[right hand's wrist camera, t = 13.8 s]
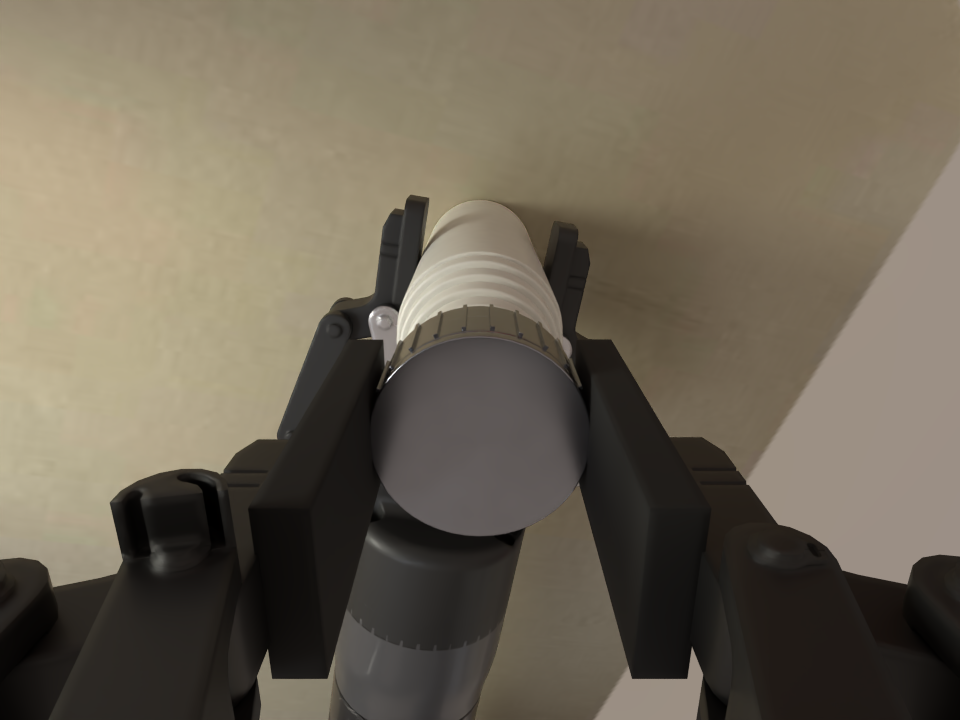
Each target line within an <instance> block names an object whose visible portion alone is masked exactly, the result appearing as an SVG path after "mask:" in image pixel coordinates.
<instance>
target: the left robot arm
mask: <svg viewBox="0 0 960 720" xmlns="http://www.w3.org/2000/svg"><path fill="white" fill-rule="evenodd" d="M428 207H429V198H427V197H421V196H415V195H410V196H409V197H408V198H407V200H406V204H405V210H401V209H396V208H395V209H394V210H393V211H392V212H391V213H390V215H389V217H388V219H387V221H386V222H385V224H384V226H383V231H382V239H381V247H380V256H379V264H378V272H377V280H376V289H375V293H374V294H372V295H371V296H369V297H365V298H359V299H352V298H347V297H346V298H341V299H338V300H337V301H336V302H335V303H334V304H333V306H332V307H331V309H330V311H329V313H327V314H326V315H325V316H324V317H323V318H322V319H321V321H320V322H319V325H318V327H317V330H316V332H315V335H314V338H313V340H312V343H311V346H310V348H309V351H308V353H307V356H306V359H305V361H304V364H303V366H302V369H301V372H300V374H299V377H298V380H297V382H296V385H295V387H294V390H293V393H292V395H291V398H290V400H289V403H288V406H287V408H286V411H285V414H284V416H283V419H282V421H281V424H280V427H279V429H278V432H277V439H278V440H289V439H290V437H291V435H292V434H293V432H294V430H295V429H296V427H297V425H298V424H299V422H300V420H301V419H302V417H303V415H304V413H305V412H306V410H307V408H308V407H309V405H310V403H311V402H312V400H313V398H314V397H315V395H316V393H317V392H318V390H319V388H320V387H321V385H322V383H323V382H324V380H325V378H326V377H327V375H328V373H329V372H330V370H331V368H332V367H333V365H334V363H335V362H336V360H337V358H338V356H339V355H340V353H341V351H342V350H343V348H344V346H345V345H346V343H347V341H348V340H356V339H362V338H368V337H372V340H383V342H384V361H385V365H386V362H387V360H388V361H390V360H391V358H392V356H393V354H394V352H395V350H396V347H397V321H398V316H399V311H400V307H401V305H402V302H403V299H404V297H405V294H406V292H407V290H408V287H409V285H410V283H411V280H412V278H413V276H414V273H415V271H416V269H417V266H418V264H419V262H420V259H421V255H422V248H423V241H424V234H425V228H426V221H427V214H428ZM589 267H590V259H589V253H588V248H587V247H586V246H585V245H584V244H583V243H582V242H579V241H578V229H577V228H576V227H575V226H574V225H573V224H569V223H563V222H558V221H554V223H553V226H552V230H551V235H550V239H549V244H548V249H547V253H546V258H545V263H544V268H543V270H544V272H545V275H546V277H547V279H548V282H549V284H550V286H551V289H552V291H553V294H554V296H555V298H556V301H557V303H558V305H559V309H560V313H561V318H562V332H563V346H562V348H563V350H564V352H565V353H566V355H567V357H568V359H570V358H572V360H573V363H574V366H575V353H576V340H592V339H587V338H585V337H584V336H582V335H580V334H579V333H577V332H576V331H575V326H576V321H577V317H578V313H579V309H580V304H581V300H582V296H583V292H584V288H585V283H586V278H587V275H588V271H589ZM577 486H580V485H579V483H578V484H577ZM525 528H526V527H525ZM525 528H523V529H520V530H517V531H514V532H510V533H506V534H500V535H494V536H465V535H459V534H454V533H449V532H446V531H443V530H439V529H437V528H434V527H432V526H430V525H427V524H425V523H423V522H422V521H420V520H418V519H416V518H415V517H413V516H412V515H410V514H409V513H408V512H406V511H405V510H404V509H403V508H402V507H401V506H399V505H398V504H397V503H396V502H395V501H394V500H393V498H392V497H391V496H390V495H389V493H388V492H387V491H386V490H385V488H384V486H383V485H382V483H381V484H380V487H379V491H378V495H377V498H376V502H375V506H374V509H373V513H372V517H371V520H370V524H369V528H368V531H367V535H366V539H365V543H364V546H363V550H362V554H361V557H360V561H359V565H358V568H357V572H356V576H355V579H354V583H353V587H352V590H351V594H350V598H349V601H348V605H347V609H346V612H345V616H344V620H343V623H342V627H341V631H340V634H339V638H338V642H337V645H336V649H335V657H336V664H335V671H334V679H333V687H332V695H331V703H330V712H329V719H328V720H475V716H476V712H477V707H478V703H479V699H480V694H481V690H482V687H483V684H484V682H485V679H486V677H487V675H488V673H489V670H490V668H491V665H492V663H493V660H494V657H495V654H496V650H497V647H498V642H499V638H500V634H501V630H502V625H503V621H504V617H505V613H506V608H507V604H508V600H509V596H510V591H511V587H512V583H513V578H514V574H515V570H516V566H517V561H518V557H519V553H520V549H521V544H522V540H523V536H524V532H525Z"/></svg>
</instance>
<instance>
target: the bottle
mask: <svg viewBox="0 0 960 720" xmlns="http://www.w3.org/2000/svg"><path fill="white" fill-rule="evenodd" d="M466 304H467V307H469V306H489V305H490V304H493V305H494V307H498V308H502V309H507V310H510V311H513V312H515V310H518V311H519V314H521V315H523V316H525V317H527V318H529V319H531V320H533V321H535V322H536V323H537V322H538V321H539V322H541V323H542V326H543V328H544V329H545V330H547V331H548V332H549V333H550V334H551V335H552V336H553V337H554V338H555V339H556V338H558V339H559V340H560V342H561V345H562V346H563V332H562V318H561V313H560V309H559V305H558V303H557V301H556V298H555V296H554V294H553V291H552V289H551V286H550V284H549V282H548V279H547V277H546V275H545V272H544V270H543V268H542V265H541V263H540V261H539V258H538V256H537V254H536V251H535V249H534V247H533V244H532V242H531V240H530V237H529V235H528V232H527V230H526V228H525V226H524V224H523V223H522V221H521V220H520V219H519V218H518V216H517V215H516V214H515V213H514V212H512V211H511V210H510V209H508V208H507V207H505V206H503V205H501V204H499V203H496V202H492V201H488V200H472V201H467V202H464V203H461V204H459V205H456V206H454V207H453V208H451V209H450V210H448V211H447V212H446V213H445V214H444V215H443V216H442V217H441V218H440V219H439V221H438V222H437V224H436V225H435V227H434V229H433V231H432V233H431V236H430V238H429V240H428V243H427V245H426V247H425V250H424V252H423V254H422V257H421V259H420V262H419V264H418V266H417V269H416V271H415V273H414V276H413V278H412V280H411V283H410V285H409V287H408V290H407V292H406V294H405V297H404V299H403V302H402V305H401V307H400V311H399V316H398V321H397V344H398V342H399V341H400V340H401V341H403V340H404V339H405V338H406V337H407V336H408V335H409V334H410V333H411V332H412V331H413V330H414V329H415V326H416V324H418V323H419V324H420V325H421V324H422V323H424V322H425V321H427V320H428V319H430V318H432V317H434V316H436V315H437V314H438V312H439V311H442V313H443V312H446V311H450V310H453V309H457V308H463V305H466Z"/></svg>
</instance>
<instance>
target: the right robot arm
mask: <svg viewBox="0 0 960 720" xmlns="http://www.w3.org/2000/svg"><path fill="white" fill-rule="evenodd" d="M384 367H385V361H384V342H383V340H348V341H347V343H346V345H345V346H344V348H343V350H342V351H341V353H340V355H339V356H338V358H337V360H336V362H335V363H334V365H333V367H332V368H331V370H330V372H329V373H328V375H327V377H326V378H325V380H324V382H323V383H322V385H321V387H320V388H319V390H318V392H317V393H316V395H315V397H314V398H313V400H312V402H311V403H310V405H309V407H308V408H307V410H306V412H305V413H304V415H303V417H302V419H301V420H300V422H299V424H298V425H297V427H296V429H295V430H294V432H293V434H292V435H291V437H290V439H289V440H256V441H255V442H253V443H252V444H250V445H249V446H247V447H245V448H244V449H242V450H241V451H239V452H238V453H236V454H235V455H234V457H233V458H232V460H231V461H230V462H229V464H228V465H227V466H226V468H225V469H224V473H221V475H220V474H218V473H217V472H212V471H208V470H204V469H179V470H174V471H168V472H163V473H158V474H156V475H153V476H150V477H147V478H144V479H142V480H139V481H137V482H135V483H133V484H132V485H130V486H128V487H127V488H125V489H123V490H122V491H120V492H119V493H118V494H117V495H116V497H115V498H114V499H113V500H112V501H111V502H110V506H111V510H112V514H113V519H114V523H115V527H116V532H117V536H118V541H119V545H120V549H121V554H122V558H123V562H122V564H121V566H120V569H119V571H118V573H117V574H114V575H110V576H106V577H102V578H98V579H93V580H88V581H83V582H78V583H73V584H68V585H63V586H58V587H52V583H51V579H50V576H49V572H48V569H47V568H46V567H45V566H44V565H43V564H41V563H40V562H39V561H37V560H31V559H25V558H13V559H3V560H0V720H259V718H260V709H261V701H260V694H259V687H258V680H257V674H258V672H259V669H260V667H261V664H262V662H263V659H264V657H265V654H266V652H267V649H268V652H269V659H270V666H271V673H272V679H327V678H328V675H329V671H330V667H331V664H332V660H333V656H334V653H335V649H336V645H337V642H338V638H339V634H340V631H341V627H342V623H343V620H344V616H345V612H346V609H347V605H348V601H349V598H350V594H351V590H352V587H353V583H354V579H355V576H356V572H357V568H358V565H359V561H360V557H361V554H362V550H363V546H364V543H365V539H366V535H367V531H368V528H369V524H370V520H371V517H372V513H373V509H374V506H375V502H376V498H377V495H378V491H379V487H380V484H381V482H380V480H379V478H378V476H377V474H376V471H375V469H374V467H373V463H372V450H371V435H370V414H371V411H372V408H373V405H374V402H375V399H376V397H377V394H378V393H377V392H375V390H376V388H377V385H378V383H379V380H380V377H381V375H382V372H383V370H384ZM575 368H576V371H577V373H578V376H579V379H580V381H581V384H582V386H583V389H582V390H581V392H582V395H583V398H584V400H585V403H586V406H587V409H588V413H589V416H590V429H589V444H588V459H587V466H586V469H585V471H584V473H583V475H582V477H581V479H580V481H579V485H580V489H581V493H582V496H583V500H584V504H585V507H586V511H587V515H588V518H589V522H590V526H591V529H592V533H593V537H594V540H595V544H596V548H597V551H598V555H599V559H600V562H601V566H602V570H603V573H604V577H605V581H606V584H607V588H608V592H609V595H610V599H611V603H612V606H613V610H614V614H615V618H616V621H617V625H618V629H619V632H620V636H621V640H622V643H623V647H624V651H625V654H626V658H627V662H628V665H629V669H630V673H631V676H632V679H687V677H688V670H689V663H690V656H691V649H692V647H693V650H694V652H695V655H696V657H697V660H698V662H699V665H700V667H701V670H702V672H703V681H702V687H701V693H700V700H699V707H698V713H697V719H696V720H960V557H958V556H948V555H935V556H929V557H923V558H921V559H920V560H919V561H918V562H916V563H915V564H914V565H913V567H912V570H911V574H910V577H909V581H908V585H906V584H901V583H896V582H891V581H887V580H882V579H877V578H872V577H866V576H861V575H857V574H853V573H850V572H846V571H842V569H841V567H840V565H839V563H838V561H837V559H836V558H835V557H834V556H833V554H832V553H831V552H830V550H829V549H828V548H827V547H826V546H825V545H823V544H822V543H820V542H819V541H817V540H816V539H814V538H813V537H811V536H810V535H807V534H805V533H803V532H800V531H798V530H795V529H793V528H790V527H786V526H782V525H778V524H777V523H776V521H775V520H774V519H773V517H772V516H771V515H770V513H769V512H768V510H767V509H766V508H765V506H764V505H763V504H762V502H761V501H760V500H759V498H758V497H757V496H756V494H755V493H754V492H753V490H752V489H751V487H750V486H749V485H746V481H745V479H744V478H743V476H742V475H741V474H740V472H739V471H736V467H735V466H734V464H733V463H732V462H731V460H730V459H729V457H728V456H727V455H726V453H725V452H724V451H723V450H721V449H719V448H718V447H716V446H715V445H713V444H712V443H710V442H708V441H707V440H705V439H704V438H702V437H669V436H668V434H667V433H666V431H665V429H664V428H663V426H662V424H661V423H660V421H659V419H658V418H657V416H656V414H655V413H654V411H653V409H652V408H651V406H650V404H649V402H648V401H647V399H646V397H645V396H644V394H643V392H642V391H641V389H640V387H639V386H638V384H637V382H636V381H635V379H634V377H633V376H632V374H631V372H630V371H629V369H628V367H627V366H626V364H625V362H624V361H623V359H622V357H621V356H620V354H619V352H618V350H617V349H616V347H615V345H614V344H613V342H612V340H576V353H575Z"/></svg>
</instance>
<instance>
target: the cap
mask: <svg viewBox="0 0 960 720" xmlns="http://www.w3.org/2000/svg"><path fill="white" fill-rule="evenodd" d="M582 389H583V386H582V384H581V381H580V379H579V376H578V373H577V371H576V368H575V366H574V363H573V360H572V358H570V359H568V357H567V355H566V353H565V352H564V350H563V348H562V345H561V342H560V340H559V339H558V338H556V339H555V338H554V337H553V336H552V335H551V334H550V333H549V332H548V331H547V330H545V329H544V328H543V326H542V323H541V322H539V321H538V322H537V323H536V322H535V321H533V320H531V319H529V318H527V317H525V316H523V315H521V314H519V311H518V310H515V312H513V311H510V310H507V309H502V308H498V307H494V305H493V304H490V305H489V306H469V307H467V304H466V305H463V308H457V309H453V310H450V311H446V312H443V313H442V311H439V312H438V314H437V315H436V316H434V317H432V318H430V319H428V320H427V321H425V322H424V323H422V324H421V325H420V324H419V323H418V324H416V326H415V329H414V330H413V331H412V332H411V333H410V334H409V335H408V336H407V337H406V338H405V339H404V340H403V341H401V340H400V341H399V342H398V344H397V347H396V350H395V352H394V354H393V356H392V358H391V360H390V361H388V360H387V362H386V365H385V367H384V370H383V372H382V375H381V377H380V380H379V383H378V385H377V388H376V390H375V392H377V393H378V394H377V397H376V399H375V402H374V405H373V408H372V411H371V414H370V435H371V450H372V463H373V467H374V469H375V471H376V474H377V476H378V478H379V480H380V482H381V483H382V485H383V486H384V488H385V490H386V491H387V492H388V493H389V495H390V496H391V497H392V498H393V500H394V501H395V502H396V503H397V504H398V505H399V506H401V507H402V508H403V509H404V510H405V511H406V512H408V513H409V514H410V515H412V516H413V517H415V518H416V519H418V520H420V521H422V522H423V523H425V524H427V525H430V526H432V527H434V528H437V529H439V530H443V531H446V532H449V533H454V534H459V535H465V536H494V535H500V534H506V533H510V532H514V531H517V530H520V529H523V528H525V527H528V526H530V525H533V524H534V523H536V522H538V521H540V520H542V519H544V518H545V517H546V516H548V515H549V514H551V513H552V512H553V511H555V510H556V509H557V508H558V507H559V506H560V505H561V504H562V503H563V502H564V501H565V500H566V499H567V498H568V497H569V496H570V494H571V493H572V492H573V491H574V489H575V487H576V486H577V484H578V483H579V481H580V479H581V477H582V475H583V473H584V471H585V469H586V466H587V459H588V444H589V429H590V416H589V413H588V409H587V406H586V403H585V400H584V398H583V395H582V392H581V390H582Z"/></svg>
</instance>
